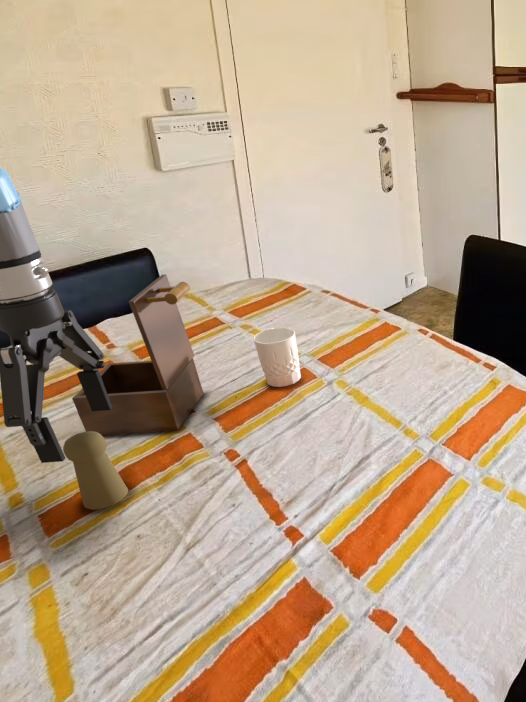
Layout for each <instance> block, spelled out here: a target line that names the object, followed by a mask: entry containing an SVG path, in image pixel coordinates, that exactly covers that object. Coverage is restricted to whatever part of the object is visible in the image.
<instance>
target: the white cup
mask: <svg viewBox="0 0 526 702" xmlns="http://www.w3.org/2000/svg"><path fill="white" fill-rule="evenodd" d="M253 343H254V346H255V350H256V353H257V357H258V360H259V363H260V366H261V369H262V372H263V373H264V377H265V381H266V384H267V385H268V386H270V387H275V388H283V387H288V386H291V385H294V384H296V383H297V382H299V381H300V379H301V378H302V374H301V368H300V365H301V364H300V356H299V350H298V349H299V348H298V344H297V336H296V332H295V330H294V329H292V328H290V327H285V326H284V327H283V326H281V327H280V326H279V327H271V328H267V329H264V330H261V331H258V332H257V333H255V335H253Z"/></svg>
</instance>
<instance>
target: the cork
mask: <svg viewBox="0 0 526 702" xmlns="http://www.w3.org/2000/svg"><path fill="white" fill-rule="evenodd" d="M106 449H107V441H106V439H105V437H104V435H101V434H99V433H97V432H94V431H80V432H78V433H75V434H73V435H71V436H70V437H68V438H67V439H65V441H64V443H63V447H62V451H63V453H64V456H65V458H66V459H67V460H69V461H71V462H72V464H73V467H74V473H75V476H76V481H77V485H78V489H79V493H80V497H81V501H82V505H83V507H84V508H86V509H88V510H94V511H95V510H102V509H106V508H109V507H112V506H114V505H116V504H117V503H120V502H121V501H122V500H124V498H126V497H127V495H128V493H129V489H128V487H127V485H126V483H125V482H124V480H123V479H122V477H121V475H120V474H119V472H118V470H117V469H116V468H115V466H114V464H113V463H112V461H111V459H110V458H109V455H108V454H107V453H106Z"/></svg>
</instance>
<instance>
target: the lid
mask: <svg viewBox="0 0 526 702" xmlns="http://www.w3.org/2000/svg"><path fill="white" fill-rule="evenodd" d="M190 290H191V288H190V285H189V284H188V283H187V282H185V281H180V282H178V283H177V284H176V285H174V286H171V284H170V280H169V278H168V276H167V274H166V273H165V274H161V275H160V276H158V277H157V278H156V279H155V280H153V281H152V282H151V283H149V284H148V286H146V287H145V288H144V289H142V290H141V291H140V292H139V293H137V294H136V295H135V296H134V297H132V298H131V299H130V300H129V301H128V304H129V307H130V309H131V312H132V315H133V318H134V319H135V322H136V325H137V328H138V331H139V333H140V335H141V337H142V340H143V343H144V345H145V349H146V350H147V353H148V356H149V358H150V361H152V364H153V366H154V369H155V371H156V374H157V377H158V379H159V382H160V384H161V387H162V389H163V390H167V389H168V388H169V386H170V385H171V384H172V383H173V382H174V380H175V379H176V378H177V377H178V375H179V374H180V373H181V372H182V370H183V369H184V368H185V367H186V366H187V364H188V363H189V362H190V361H191V359H192V358H193V359H194V357H195V353H194V350H193V347H192V345H191V341H190V339H189V336H188V333H187V331H186V327H185V325H184V322H183V318H182V316H181V313H180V310H179V307H178V302H179V301H180V300H182V298H183V297H185V295H186V294H187V293H189V291H190Z"/></svg>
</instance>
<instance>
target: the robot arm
mask: <svg viewBox="0 0 526 702" xmlns="http://www.w3.org/2000/svg"><path fill="white" fill-rule="evenodd" d="M52 285H53V280H52V278H51V276H50V274H49V269H48V267H47V266H46V264H45V261H44V259H43V257H42V253H41V250H40V248H39V245H38V242H37V240H36V238H35V235H34V231H33V230H32V227H31V225H30V222H29V219H28V216H27V214H26V211H25V209H24V206H23V204H22V198H21V195H20V193H19V192H18V190H16V186H15V185H14V182H13V181H12V178H11V177H10V174H9V173H8V172H7V170H5V169H4V168H3V167H1V166H0V331H1V332H3V333H6V334H7V335H8V337H9V340H10V345H9V346H7V347H2V348H1V347H0V390H1V391H0V393H1V402H2V403H1V404H2V411H3V422H4V426H5V427H6V428H14V427H15V428H17V427H22V429H23V431H24V433H25V435H26V437H27V439H28V441H29V443H30V444H31V446H33V448H34V450H35V453H36V455H37V456H38V459H39V460H40V463H41V464H46V463H59V462H60V463H61V462H63V461H65V460H66V456H65V454H64V451H63V448H62V447H61V444H60V442H59V440H58V438H57V435H56V433H55V431H54V429H53V427H52V425H51V422H50V419H49V418H48V416H43V403H44V402H43V401H44V392H45V391H44V389H45V378H46V377H45V375H46V373H47V372H48V371H49V370H50V364H51V363H52V362H53V361H54V359H55V358H57V357H60V358H62V359H63V360H65V362H68V363H69V364H71V365H72V366H74V367H75V368H77V369H79V370H81V371H78V372H76V377H77V378H78V380H79V384H80V386H81V388H82V389H83V390H84V393H85V395H86V398H87V400H88V403H89V405H90V408H91V410H92V411H105V410H111V409H112V408H113V407H112V405H111V402H110V400H109V397H108V394H107V392H106V389H105V387H104V384H103V381H102V378H101V376H100V370H99V369H104V368H105V367H106V363H105V361H104V357H105V355H104V352H103V351H102V350H101V349H100V348H99V346H98V345H97V344H96V343H95V341H94V340H93V339H92V338H91V337H90V336H89V334H88V333H87V332H86V331H85V330H84V328H83V327H82V326H81V325H80V324H79V323H78V321H77V318H76V317H75V314H74V312H73V311H72V310H70V309H69V310H64V308H63V305H62V302H61V300H60V296H59V295H58V292H57V290H55V289H54V288H52ZM27 362H28V363H29V364H27Z"/></svg>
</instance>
